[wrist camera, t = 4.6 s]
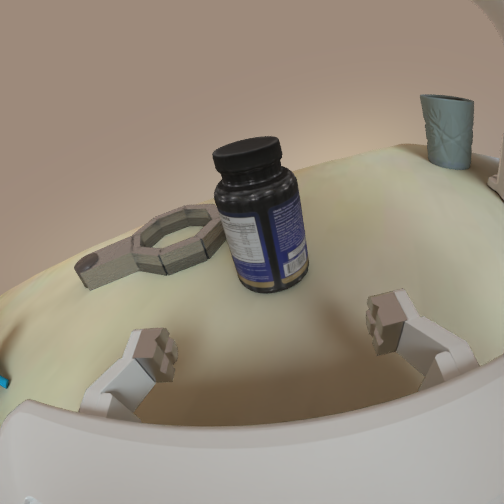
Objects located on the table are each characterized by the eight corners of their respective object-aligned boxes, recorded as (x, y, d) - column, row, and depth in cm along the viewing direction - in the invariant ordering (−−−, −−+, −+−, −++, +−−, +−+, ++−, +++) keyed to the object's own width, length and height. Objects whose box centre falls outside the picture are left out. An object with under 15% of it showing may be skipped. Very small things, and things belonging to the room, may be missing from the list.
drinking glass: (482, 167, 34) (483, 102, 28) (453, 175, 33) (453, 99, 27) (444, 152, 43) (442, 94, 37) (412, 157, 42) (408, 93, 36)
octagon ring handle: (266, 194, 39) (262, 177, 37) (305, 222, 30) (302, 201, 28) (90, 262, 34) (82, 246, 32) (78, 311, 25) (65, 292, 23)
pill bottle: (297, 244, 27) (277, 130, 21) (320, 283, 22) (303, 141, 16) (234, 262, 26) (201, 148, 21) (244, 305, 21) (202, 165, 15)
